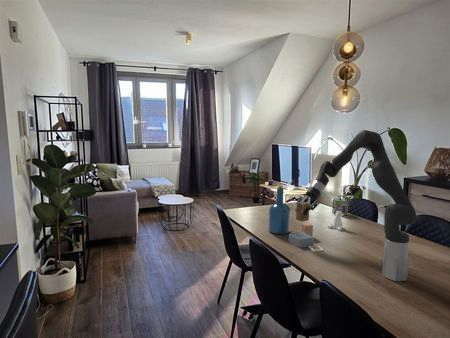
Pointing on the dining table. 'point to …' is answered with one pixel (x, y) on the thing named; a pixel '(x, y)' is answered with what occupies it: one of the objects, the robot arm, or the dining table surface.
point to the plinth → (301, 239)
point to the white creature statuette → (337, 221)
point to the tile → (315, 248)
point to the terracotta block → (307, 228)
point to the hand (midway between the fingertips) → (300, 213)
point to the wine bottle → (279, 215)
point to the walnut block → (301, 211)
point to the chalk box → (340, 206)
